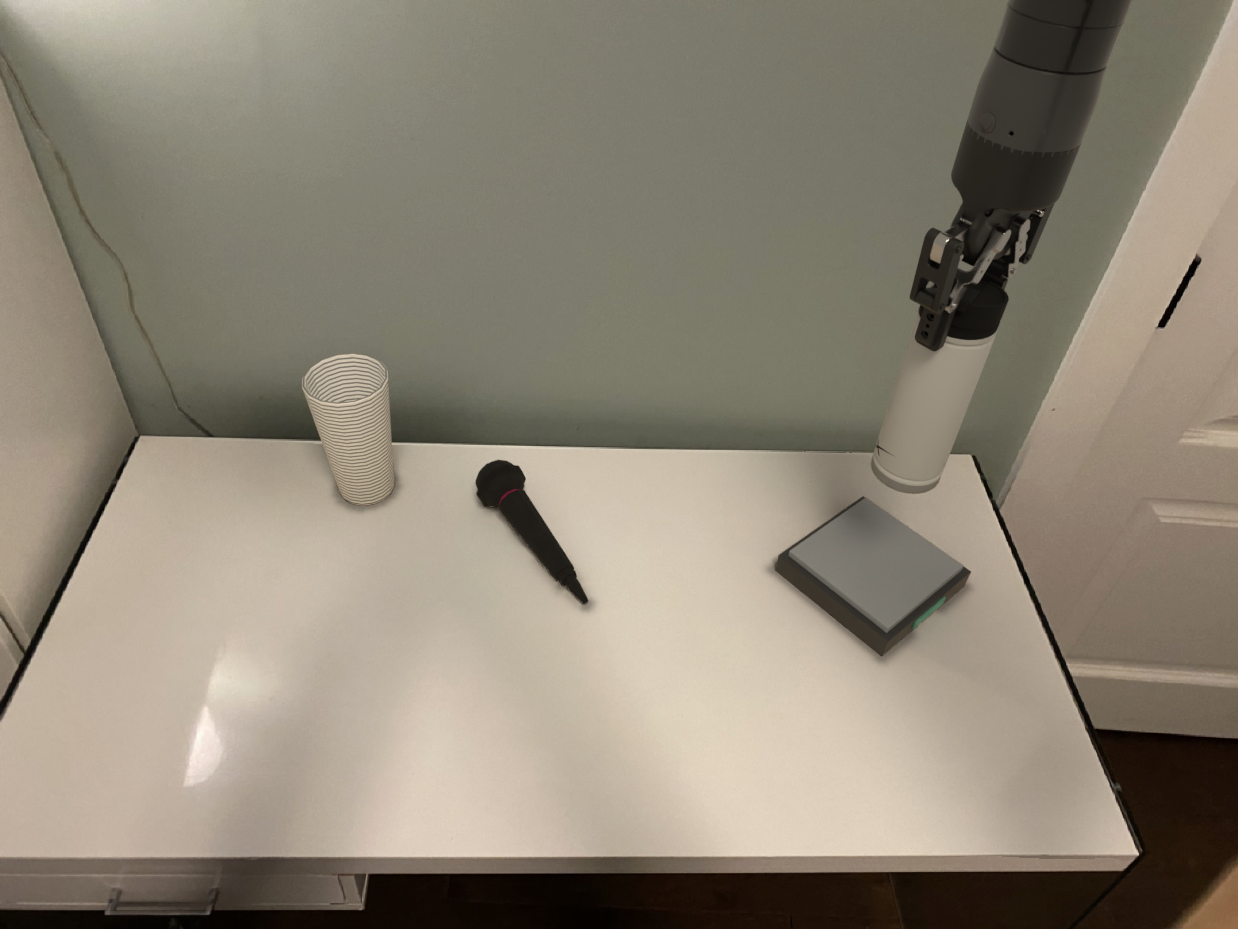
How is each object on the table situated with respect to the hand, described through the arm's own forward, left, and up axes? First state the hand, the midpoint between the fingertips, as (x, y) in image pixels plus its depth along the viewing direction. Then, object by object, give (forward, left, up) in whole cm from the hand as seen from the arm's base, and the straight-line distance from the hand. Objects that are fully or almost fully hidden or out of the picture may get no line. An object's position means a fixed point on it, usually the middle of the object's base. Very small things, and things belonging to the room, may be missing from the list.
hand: (954, 328), depth 73 cm
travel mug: (0, 0, -16) cm, 16 cm away
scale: (0, -1, -32) cm, 32 cm away
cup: (+44, +33, -32) cm, 64 cm away
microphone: (+26, +24, -32) cm, 48 cm away
